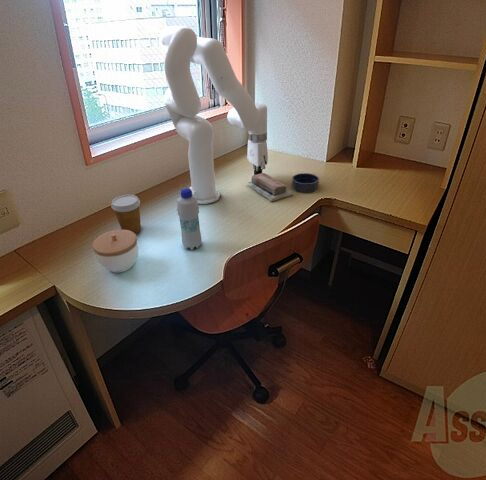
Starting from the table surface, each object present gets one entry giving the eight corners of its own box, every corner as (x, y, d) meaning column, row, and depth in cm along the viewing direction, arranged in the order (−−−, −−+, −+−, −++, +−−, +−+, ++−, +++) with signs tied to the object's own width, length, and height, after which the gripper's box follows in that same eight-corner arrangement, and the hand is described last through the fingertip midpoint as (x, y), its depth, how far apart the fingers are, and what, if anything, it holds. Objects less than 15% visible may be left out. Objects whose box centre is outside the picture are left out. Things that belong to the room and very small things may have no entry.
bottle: (202, 239, 119) (197, 184, 108) (202, 250, 113) (196, 193, 102) (182, 240, 119) (175, 185, 108) (181, 252, 113) (173, 195, 102)
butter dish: (247, 175, 149) (267, 170, 153) (247, 186, 152) (266, 180, 156) (271, 190, 136) (293, 184, 139) (271, 202, 138) (292, 195, 142)
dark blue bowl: (301, 195, 142) (301, 186, 140) (286, 185, 150) (287, 176, 148) (323, 189, 145) (324, 180, 143) (308, 180, 154) (309, 171, 152)
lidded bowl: (141, 250, 115) (134, 220, 109) (143, 273, 105) (136, 242, 99) (100, 257, 113) (91, 227, 107) (99, 282, 103) (89, 250, 96)
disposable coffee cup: (133, 221, 131) (127, 191, 125) (151, 228, 126) (145, 198, 120) (112, 232, 125) (104, 202, 119) (129, 241, 120) (122, 209, 114)
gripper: (241, 133, 150) (242, 174, 160) (258, 143, 138) (258, 186, 148) (257, 130, 152) (257, 170, 162) (275, 139, 141) (274, 182, 151)
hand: (258, 178), depth 155 cm, fingers closed
